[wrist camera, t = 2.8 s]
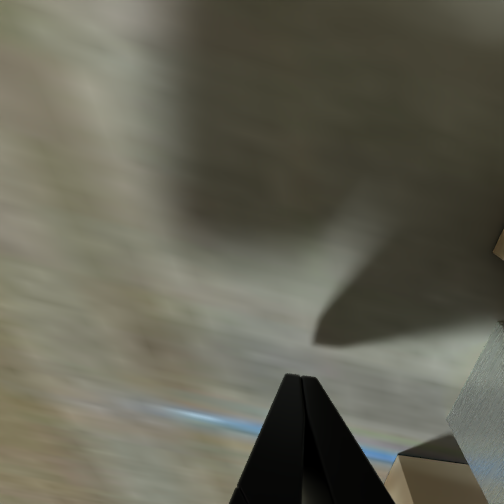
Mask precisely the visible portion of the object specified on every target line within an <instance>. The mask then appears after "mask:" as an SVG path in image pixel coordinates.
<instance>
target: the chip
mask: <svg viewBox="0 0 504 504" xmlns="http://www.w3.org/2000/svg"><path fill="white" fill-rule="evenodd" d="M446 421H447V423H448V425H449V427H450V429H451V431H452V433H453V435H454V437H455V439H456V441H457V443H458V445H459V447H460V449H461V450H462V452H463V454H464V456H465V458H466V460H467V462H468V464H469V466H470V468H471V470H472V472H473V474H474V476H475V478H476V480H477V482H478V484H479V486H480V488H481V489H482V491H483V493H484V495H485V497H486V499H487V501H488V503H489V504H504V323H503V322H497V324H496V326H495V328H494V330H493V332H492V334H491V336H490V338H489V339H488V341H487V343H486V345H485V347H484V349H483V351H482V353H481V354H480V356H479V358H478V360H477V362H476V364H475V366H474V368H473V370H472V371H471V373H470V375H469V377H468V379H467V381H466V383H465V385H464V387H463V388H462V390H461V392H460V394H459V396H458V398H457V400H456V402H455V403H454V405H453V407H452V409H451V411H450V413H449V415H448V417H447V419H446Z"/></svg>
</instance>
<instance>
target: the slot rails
mask: <svg viewBox="0 0 504 504" xmlns="http://www.w3.org/2000/svg"><path fill="white" fill-rule="evenodd" d="M492 253H494V254H495V255H496V256H498V257H499V258H501V259H502V260H503V261H504V229H503V231H502V233H501V235H500V238H499V240H498V242H497V244H496V246H495V248H494V250H493V252H492ZM384 486H385V487H386V489H387V491H388V492H389V494H390V495H391V497H392V499H393V500H394V502H395V503H396V504H489V503H488V501H487V499H486V497H485V495H484V493H483V491H482V489H481V488H480V486H479V484H478V482H477V480H476V478H475V476H474V474H473V472H472V470H471V468H470V466H469V465H466V464H459V463H452V462H444V461H437V460H430V459H423V458H415V457H408V456H401V455H397V458H396V460H395V462H394V464H393V466H392V468H391V470H390V473H389V475H388V477H387V479H386V481H385V483H384Z"/></svg>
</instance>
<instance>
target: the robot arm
mask: <svg viewBox="0 0 504 504" xmlns="http://www.w3.org/2000/svg"><path fill="white" fill-rule="evenodd" d="M229 504H396V503H395V502H394V500H393V499H392V497H391V495H390V494H389V492H388V491H387V489H386V487H385V486H384V484H383V483H382V481H381V479H380V478H379V476H378V475H377V473H376V471H375V470H374V468H373V467H372V465H371V464H370V462H369V460H368V459H367V457H366V456H365V454H364V452H363V451H362V449H361V448H360V446H359V444H358V443H357V441H356V440H355V438H354V436H353V435H352V433H351V432H350V430H349V428H348V427H347V425H346V424H345V422H344V421H343V419H342V417H341V416H340V414H339V413H338V411H337V409H336V408H335V406H334V405H333V403H332V401H331V400H330V398H329V397H328V395H327V393H326V392H325V390H324V389H323V387H322V385H321V384H320V382H319V381H318V379H317V378H316V377H311V376H304V375H303V376H301V377H300V376H299V375H296V374H288V373H287V374H285V376H284V378H283V380H282V382H281V385H280V387H279V389H278V392H277V394H276V396H275V399H274V401H273V403H272V405H271V408H270V410H269V412H268V415H267V417H266V419H265V422H264V424H263V426H262V429H261V431H260V433H259V435H258V438H257V440H256V442H255V445H254V447H253V449H252V452H251V454H250V456H249V459H248V461H247V463H246V466H245V468H244V470H243V472H242V475H241V477H240V479H239V482H238V484H237V488H235V490H234V493H233V495H232V497H231V500H230V502H229Z"/></svg>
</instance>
